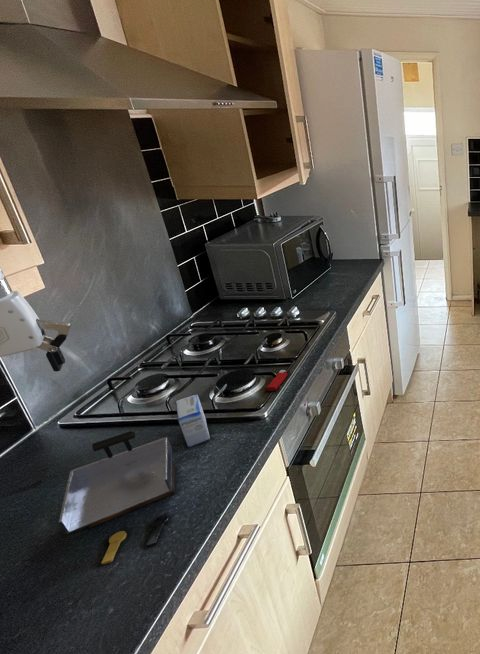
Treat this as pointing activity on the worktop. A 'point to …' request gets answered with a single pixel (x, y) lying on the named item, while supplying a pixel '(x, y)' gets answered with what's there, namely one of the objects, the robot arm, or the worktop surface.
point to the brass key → (113, 546)
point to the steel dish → (116, 481)
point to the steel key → (157, 529)
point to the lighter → (277, 381)
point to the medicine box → (192, 420)
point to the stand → (140, 504)
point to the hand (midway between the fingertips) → (22, 377)
